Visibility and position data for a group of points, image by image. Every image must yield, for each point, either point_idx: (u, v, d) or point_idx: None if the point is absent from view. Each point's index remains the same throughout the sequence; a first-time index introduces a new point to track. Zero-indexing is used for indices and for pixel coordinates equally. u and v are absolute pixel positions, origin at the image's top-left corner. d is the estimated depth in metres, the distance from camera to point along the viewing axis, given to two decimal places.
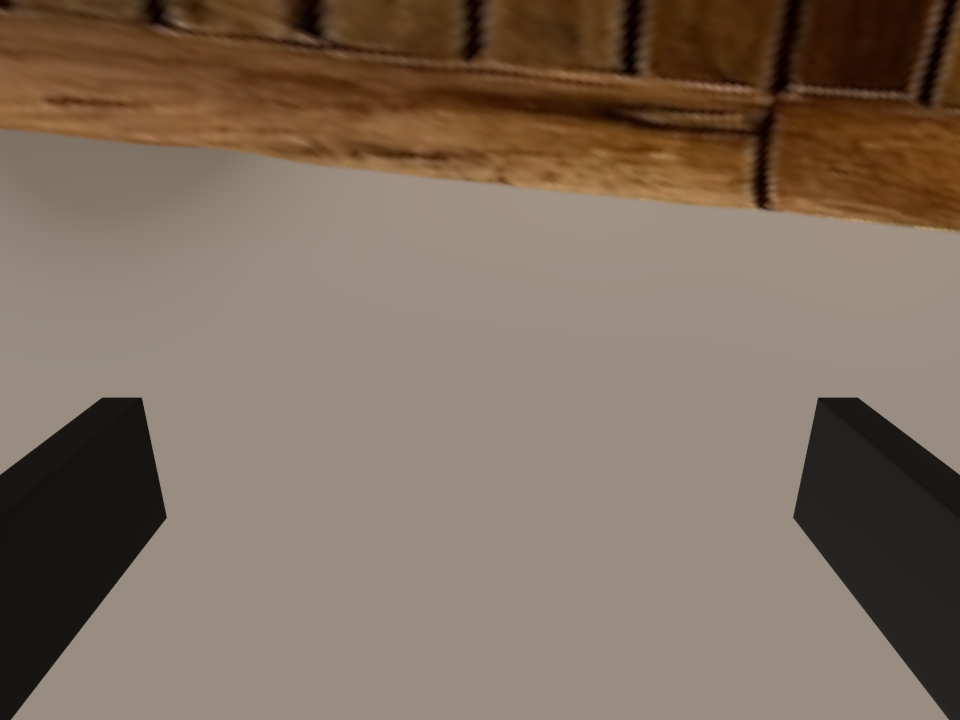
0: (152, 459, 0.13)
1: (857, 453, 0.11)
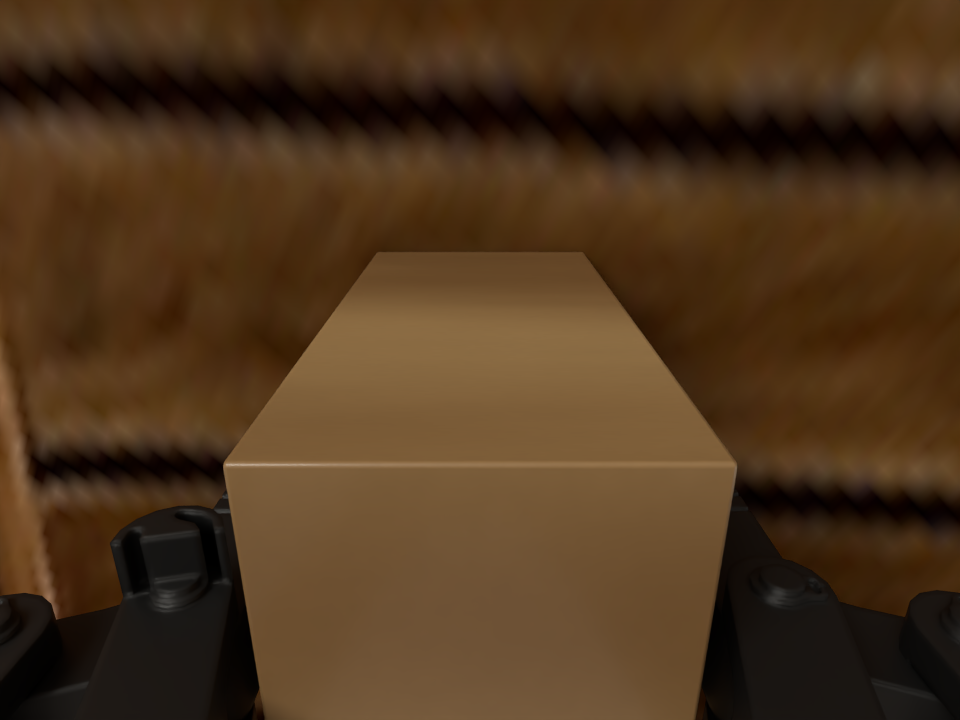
0: None
1: None
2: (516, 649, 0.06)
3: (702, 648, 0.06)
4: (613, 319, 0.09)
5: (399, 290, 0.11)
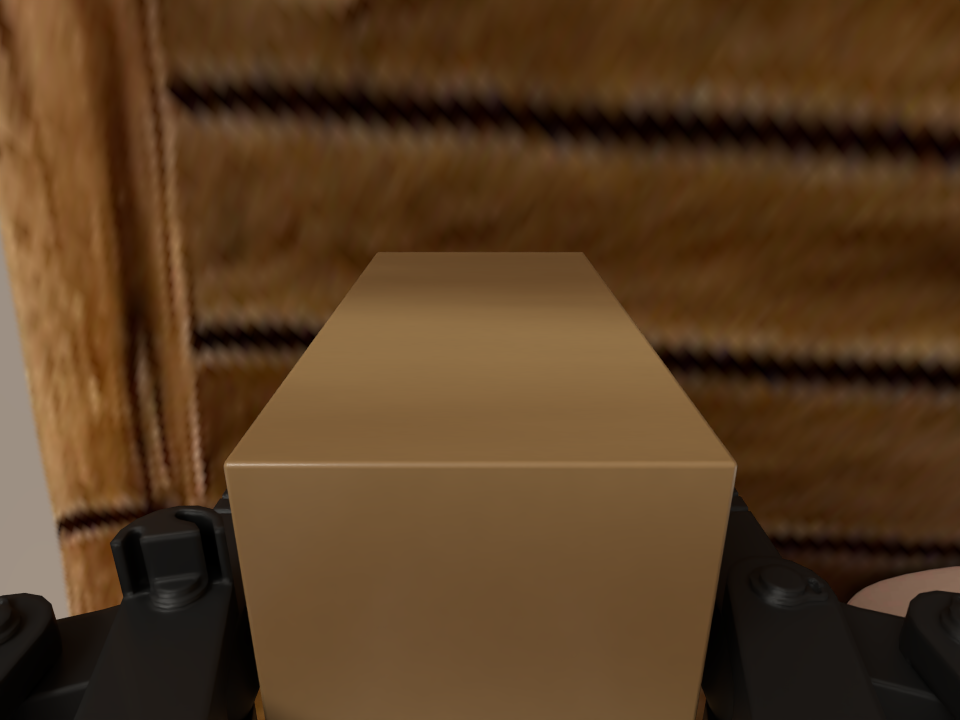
0: None
1: None
2: (516, 649, 0.06)
3: (702, 648, 0.06)
4: (613, 319, 0.09)
5: (399, 290, 0.11)
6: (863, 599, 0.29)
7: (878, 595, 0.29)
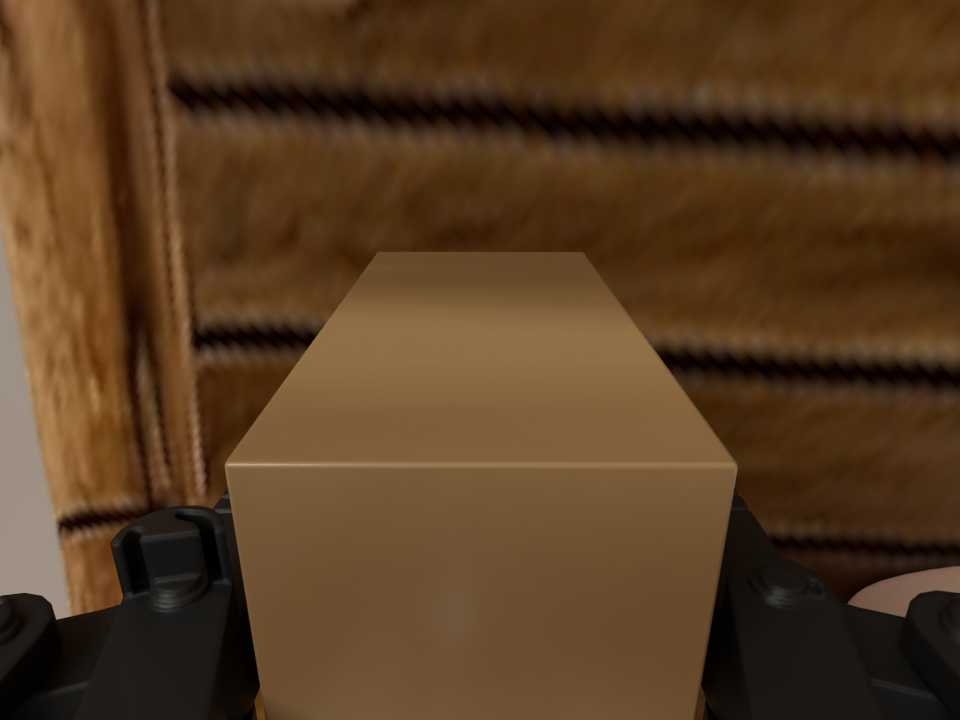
0: None
1: None
2: (517, 649, 0.06)
3: (702, 648, 0.06)
4: (613, 319, 0.09)
5: (400, 290, 0.11)
6: (863, 599, 0.29)
7: (878, 595, 0.29)
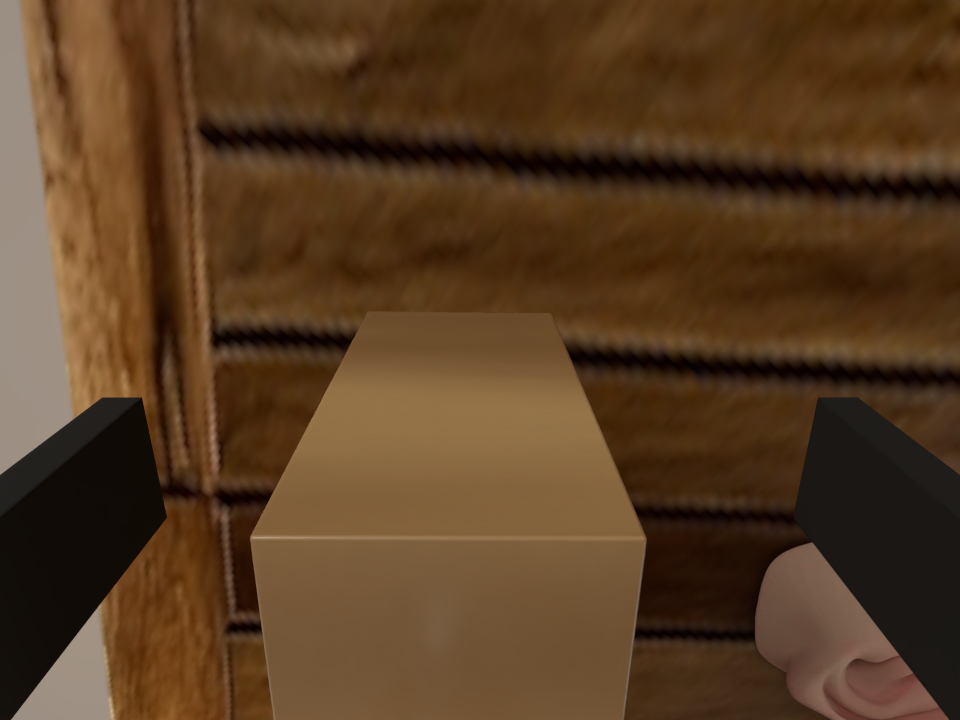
0: (151, 458, 0.13)
1: (857, 453, 0.11)
2: (479, 678, 0.08)
3: (624, 677, 0.08)
4: (568, 392, 0.11)
5: (387, 357, 0.13)
6: (781, 562, 0.34)
7: (793, 559, 0.34)
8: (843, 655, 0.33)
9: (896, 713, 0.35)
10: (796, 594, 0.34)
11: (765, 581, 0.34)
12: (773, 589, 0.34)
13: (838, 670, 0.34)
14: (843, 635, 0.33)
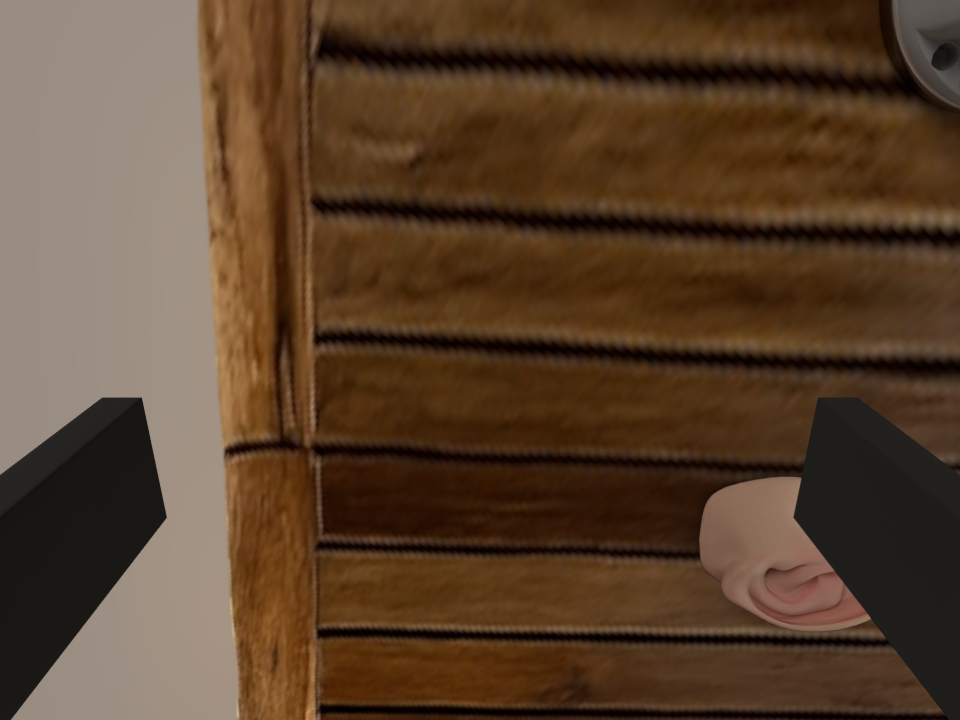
0: (152, 458, 0.13)
1: (857, 454, 0.11)
2: None
3: None
4: None
5: None
6: (715, 498, 0.47)
7: (724, 495, 0.47)
8: (759, 563, 0.46)
9: (803, 610, 0.48)
10: (726, 521, 0.47)
11: (705, 512, 0.47)
12: (710, 518, 0.47)
13: (756, 575, 0.46)
14: (759, 550, 0.46)
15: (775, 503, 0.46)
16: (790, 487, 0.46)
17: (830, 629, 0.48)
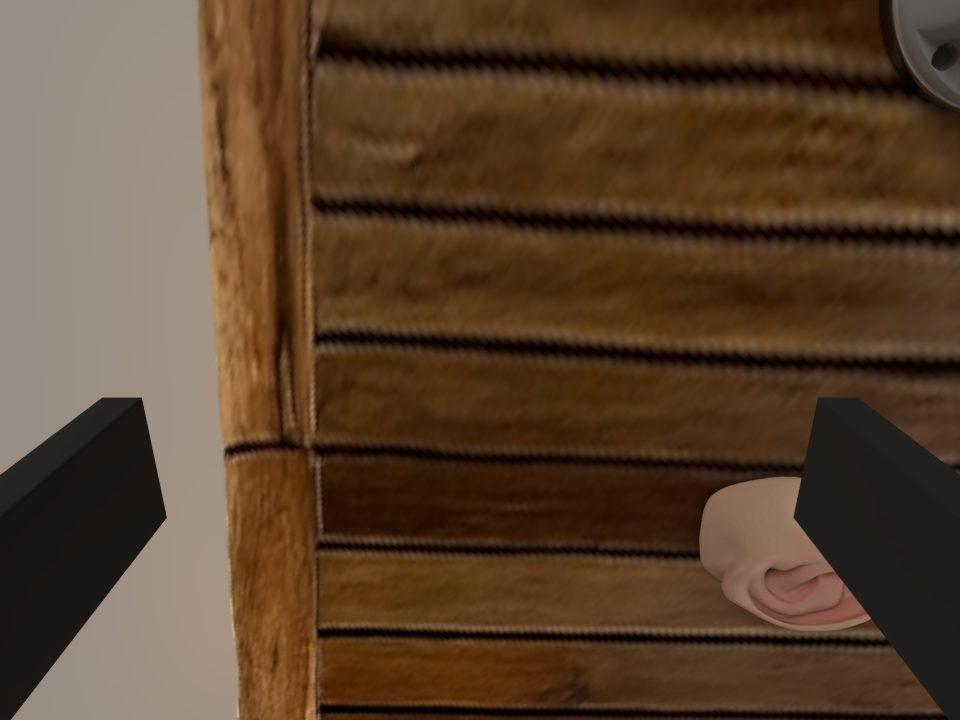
0: (152, 458, 0.13)
1: (857, 454, 0.11)
2: None
3: None
4: None
5: None
6: (715, 498, 0.47)
7: (724, 495, 0.47)
8: (759, 563, 0.46)
9: (803, 610, 0.48)
10: (726, 521, 0.47)
11: (705, 512, 0.47)
12: (710, 518, 0.47)
13: (756, 575, 0.46)
14: (759, 550, 0.46)
15: (775, 503, 0.46)
16: (790, 487, 0.46)
17: (830, 629, 0.48)
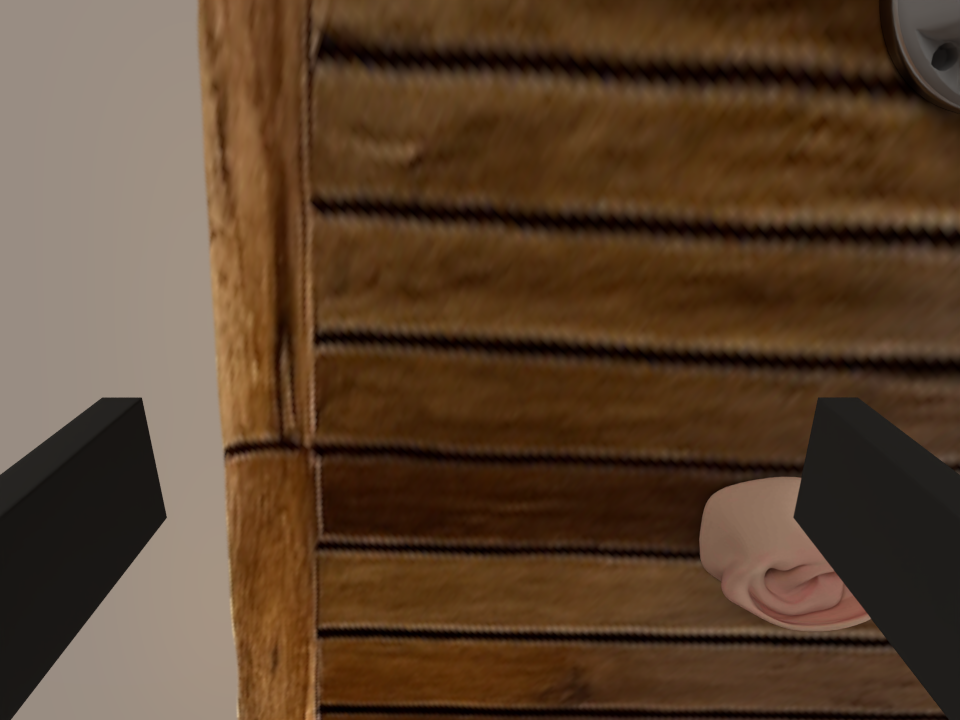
0: (152, 458, 0.13)
1: (857, 454, 0.11)
2: None
3: None
4: None
5: None
6: (715, 498, 0.47)
7: (724, 495, 0.47)
8: (759, 563, 0.46)
9: (803, 610, 0.48)
10: (726, 521, 0.47)
11: (705, 512, 0.47)
12: (710, 518, 0.47)
13: (756, 575, 0.46)
14: (759, 550, 0.46)
15: (775, 503, 0.46)
16: (790, 487, 0.46)
17: (830, 629, 0.48)
